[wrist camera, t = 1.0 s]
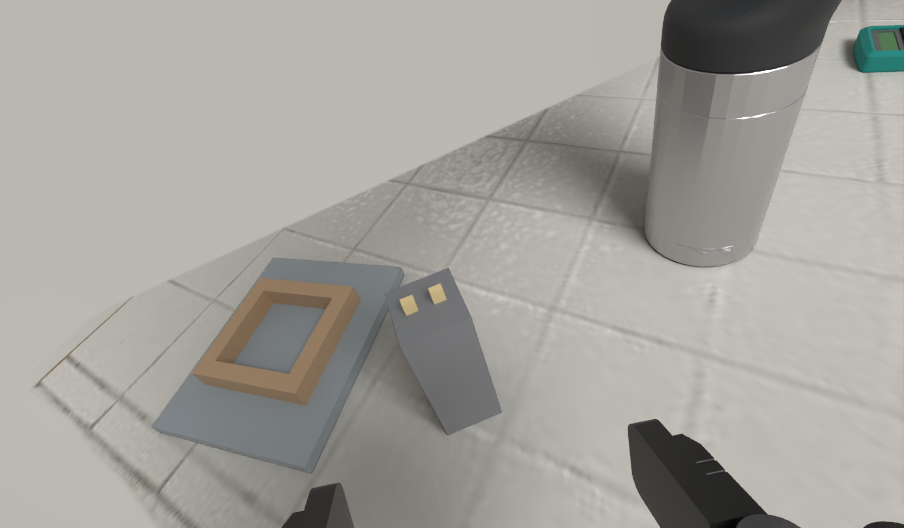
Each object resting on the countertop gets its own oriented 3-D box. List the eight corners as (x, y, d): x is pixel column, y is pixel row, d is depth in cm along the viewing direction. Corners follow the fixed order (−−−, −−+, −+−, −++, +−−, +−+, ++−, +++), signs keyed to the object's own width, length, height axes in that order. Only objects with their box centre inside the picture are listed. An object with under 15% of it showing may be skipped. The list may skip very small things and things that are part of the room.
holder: (278, 264, 53) (263, 245, 51) (404, 275, 48) (394, 253, 45) (160, 432, 41) (135, 416, 39) (311, 473, 35) (292, 457, 33)
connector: (481, 366, 38) (444, 257, 29) (501, 412, 35) (467, 306, 26) (431, 386, 38) (378, 283, 29) (447, 435, 35) (394, 336, 26)
